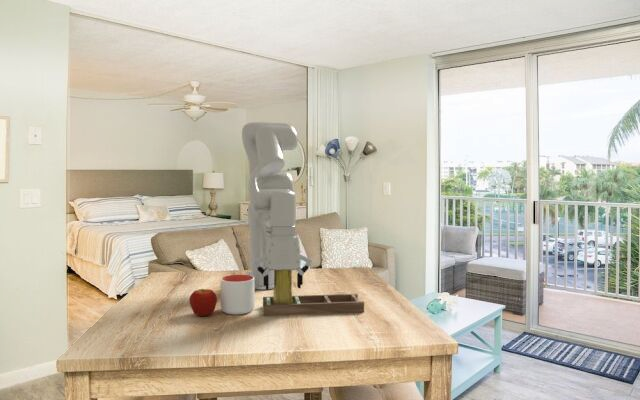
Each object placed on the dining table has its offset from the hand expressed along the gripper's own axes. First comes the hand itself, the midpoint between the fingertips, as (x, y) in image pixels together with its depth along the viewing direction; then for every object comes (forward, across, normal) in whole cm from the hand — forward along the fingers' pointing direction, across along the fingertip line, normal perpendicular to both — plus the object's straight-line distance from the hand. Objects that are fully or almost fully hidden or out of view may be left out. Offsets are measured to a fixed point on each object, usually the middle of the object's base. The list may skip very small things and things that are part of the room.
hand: (283, 287), depth 142 cm
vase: (+7, 0, 0) cm, 7 cm away
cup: (+7, -14, +1) cm, 15 cm away
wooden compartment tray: (+7, +9, 0) cm, 11 cm away
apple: (+7, -24, -1) cm, 25 cm away
